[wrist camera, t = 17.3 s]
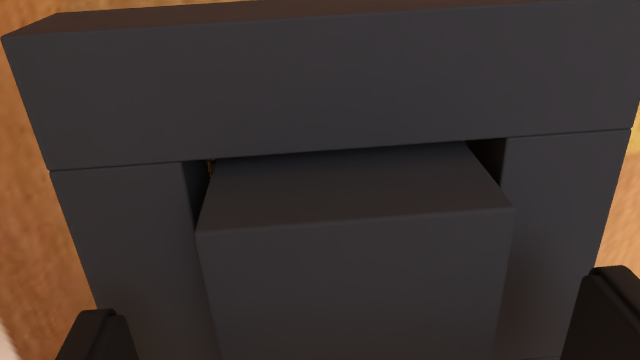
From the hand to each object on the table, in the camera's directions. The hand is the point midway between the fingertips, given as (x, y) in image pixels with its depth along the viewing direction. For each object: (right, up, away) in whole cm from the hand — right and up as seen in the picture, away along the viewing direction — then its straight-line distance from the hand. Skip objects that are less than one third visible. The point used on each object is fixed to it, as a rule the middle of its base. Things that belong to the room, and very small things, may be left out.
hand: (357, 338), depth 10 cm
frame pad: (0, +2, +4) cm, 5 cm away
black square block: (0, +2, +4) cm, 5 cm away
